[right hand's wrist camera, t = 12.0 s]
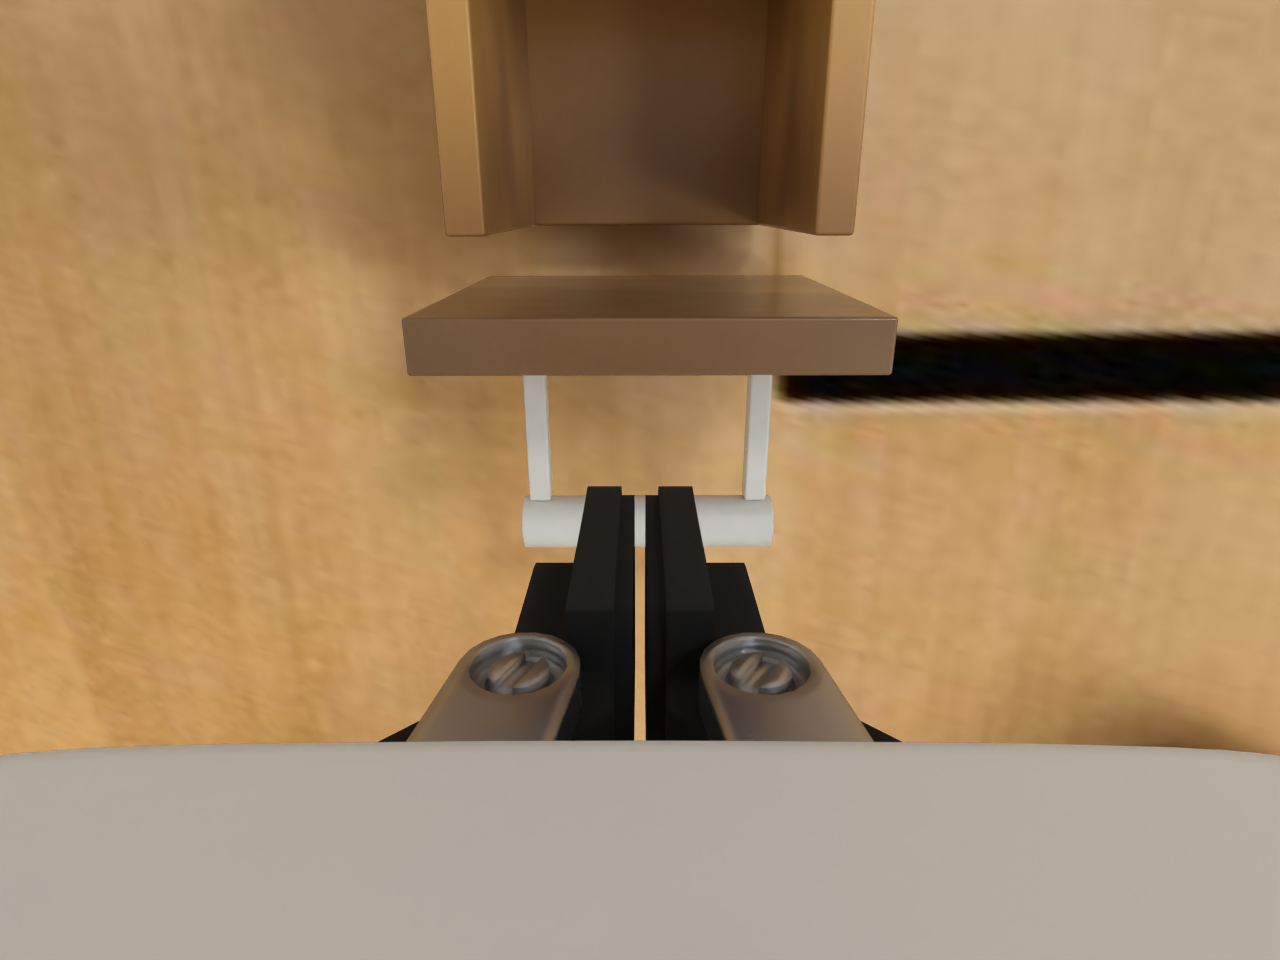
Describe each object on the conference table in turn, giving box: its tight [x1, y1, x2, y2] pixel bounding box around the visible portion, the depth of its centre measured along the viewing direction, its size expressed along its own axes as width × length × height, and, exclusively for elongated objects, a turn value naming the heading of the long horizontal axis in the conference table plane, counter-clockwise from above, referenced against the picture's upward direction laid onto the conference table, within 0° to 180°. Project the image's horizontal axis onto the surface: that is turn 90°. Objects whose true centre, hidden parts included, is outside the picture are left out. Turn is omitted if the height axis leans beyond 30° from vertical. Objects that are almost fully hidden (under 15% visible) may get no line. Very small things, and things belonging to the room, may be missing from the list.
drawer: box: [402, 0, 898, 547], centre depth 18 cm, size 26×10×10 cm, turn 0°
